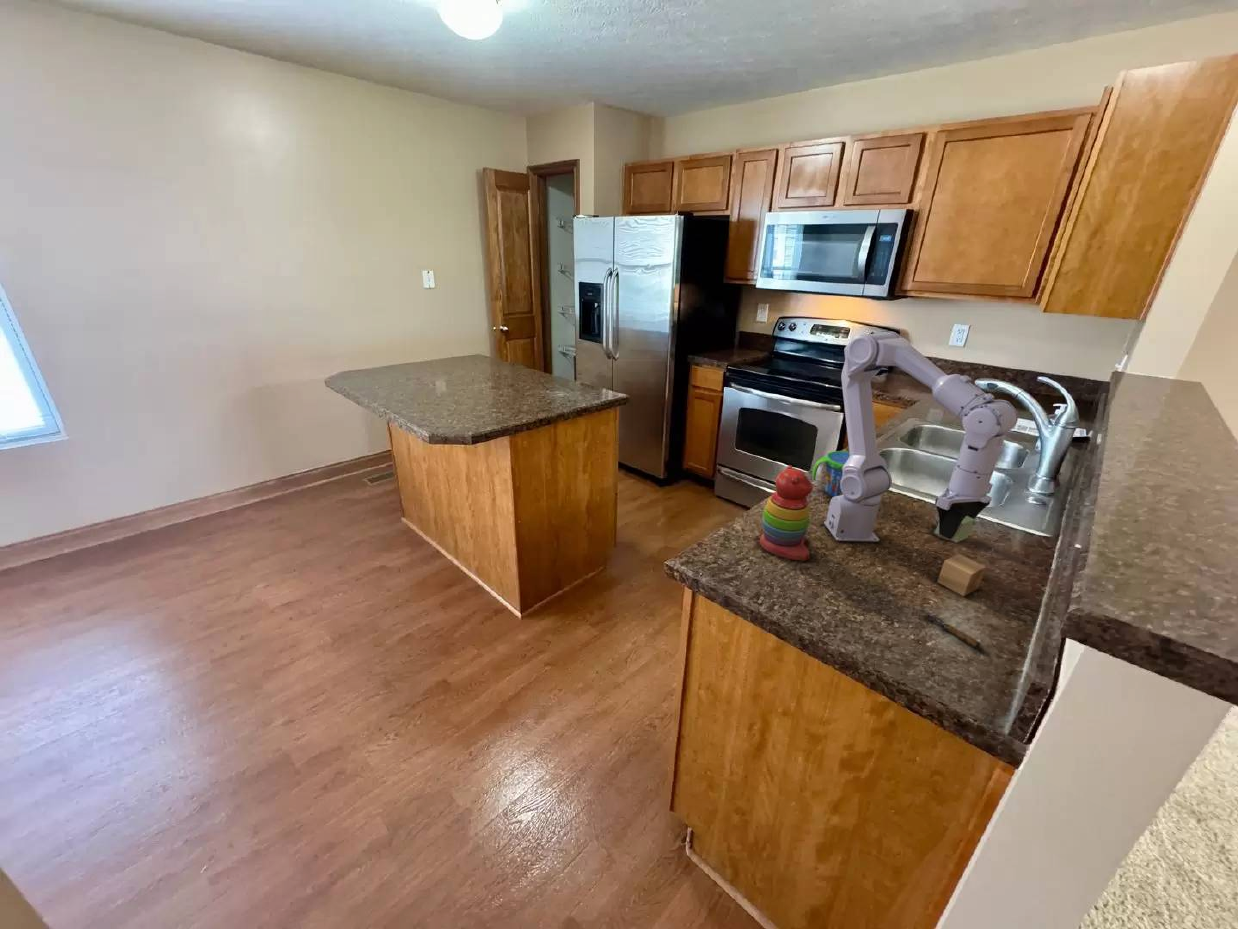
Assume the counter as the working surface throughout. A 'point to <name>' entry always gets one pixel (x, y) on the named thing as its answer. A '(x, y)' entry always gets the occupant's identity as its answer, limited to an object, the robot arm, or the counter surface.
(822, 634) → the counter surface
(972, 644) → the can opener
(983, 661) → the counter surface
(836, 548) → the counter surface
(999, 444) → the robot arm
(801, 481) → the stacking bear
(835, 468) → the snack cup
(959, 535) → the top cube
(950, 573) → the base block
